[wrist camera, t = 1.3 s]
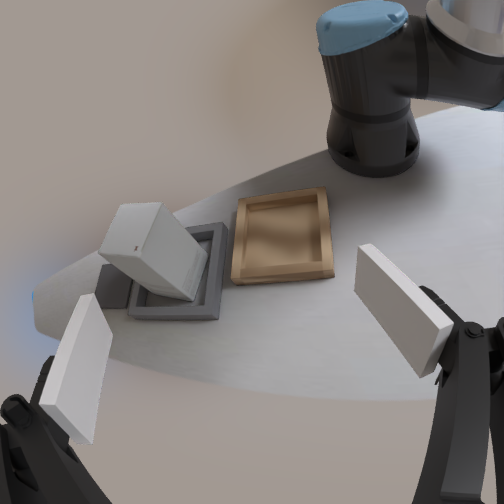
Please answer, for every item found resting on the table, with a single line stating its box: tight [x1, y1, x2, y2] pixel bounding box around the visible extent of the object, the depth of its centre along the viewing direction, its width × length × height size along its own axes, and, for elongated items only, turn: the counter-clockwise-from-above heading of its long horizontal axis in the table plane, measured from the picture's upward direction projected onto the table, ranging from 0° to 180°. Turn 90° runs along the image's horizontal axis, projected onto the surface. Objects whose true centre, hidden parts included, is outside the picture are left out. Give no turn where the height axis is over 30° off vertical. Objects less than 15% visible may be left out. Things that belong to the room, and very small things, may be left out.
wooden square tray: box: [231, 186, 334, 285], centre depth 39 cm, size 12×12×2 cm
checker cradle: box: [128, 222, 228, 320], centre depth 42 cm, size 13×14×2 cm
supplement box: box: [98, 202, 208, 301], centre depth 38 cm, size 7×7×13 cm
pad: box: [95, 264, 133, 308], centre depth 46 cm, size 8×8×1 cm
